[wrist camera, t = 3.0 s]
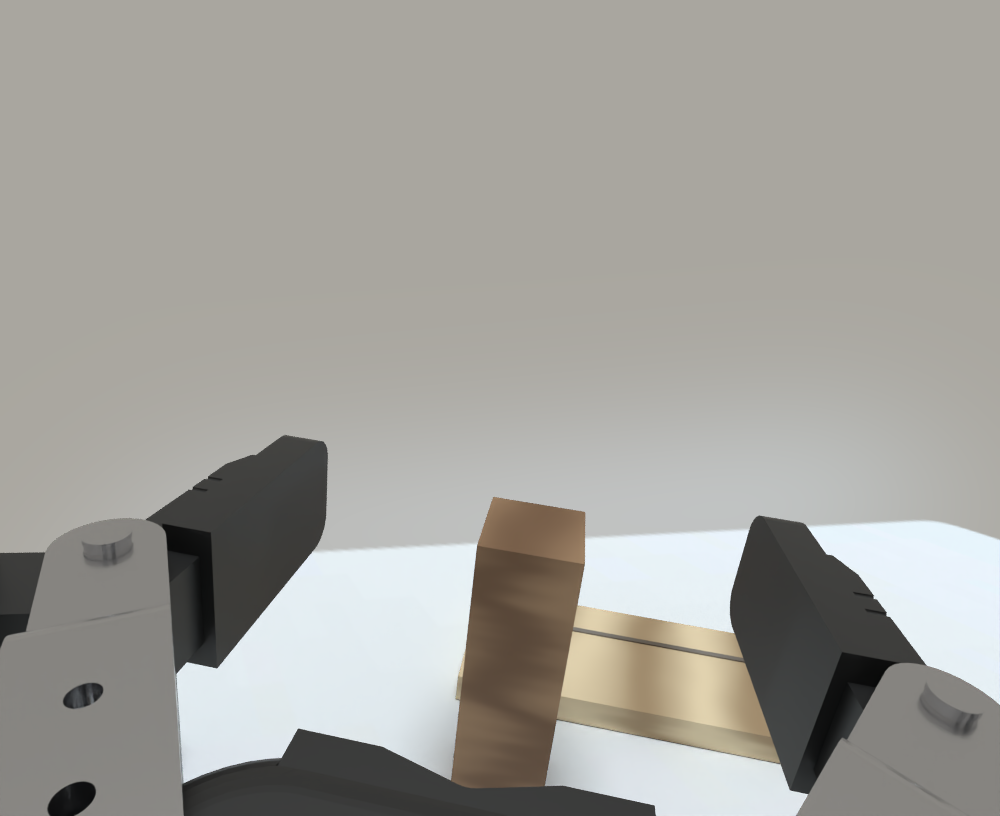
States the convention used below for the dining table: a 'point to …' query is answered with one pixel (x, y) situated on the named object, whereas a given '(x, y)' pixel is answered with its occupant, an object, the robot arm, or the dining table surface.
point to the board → (661, 683)
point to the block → (517, 643)
